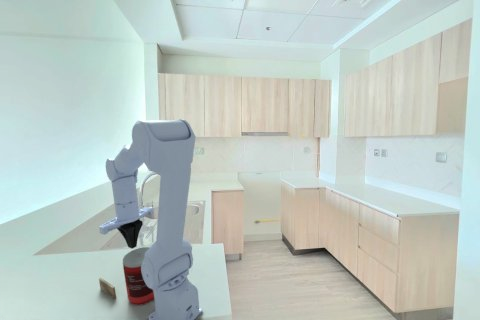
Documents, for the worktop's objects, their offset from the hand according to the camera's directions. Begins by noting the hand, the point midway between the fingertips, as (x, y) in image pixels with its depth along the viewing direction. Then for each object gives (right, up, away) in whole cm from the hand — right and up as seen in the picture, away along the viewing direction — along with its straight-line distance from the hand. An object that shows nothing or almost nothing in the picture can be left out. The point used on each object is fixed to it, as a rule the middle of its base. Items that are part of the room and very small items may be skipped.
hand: (132, 246), depth 63 cm
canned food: (+6, -10, -5) cm, 13 cm away
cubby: (-2, -10, 0) cm, 10 cm away
